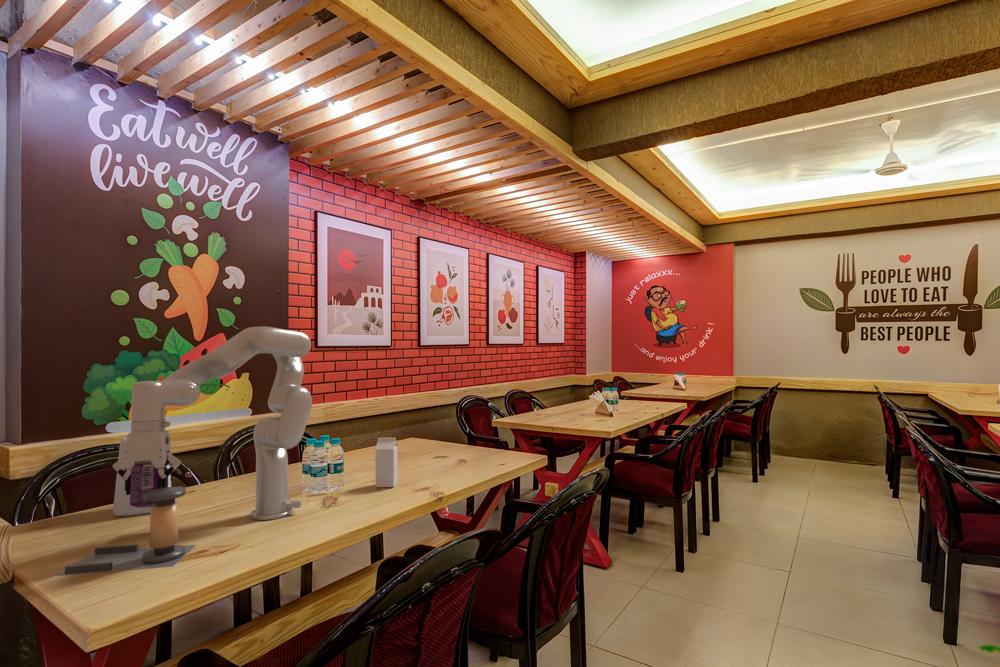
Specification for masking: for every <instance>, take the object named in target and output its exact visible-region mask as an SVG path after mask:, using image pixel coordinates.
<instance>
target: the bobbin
mask: <svg viewBox="0 0 1000 667" xmlns="http://www.w3.org/2000/svg"><path fill="white" fill-rule="evenodd" d="M186 489H187V488H186V487H184V486H171V487H166V488H159V489H155V490H151V491H148V492H146V493H144V494H143V500H144V501H154V504H152V505H151V506H150V518H149V548H154V549H152V550H149V551H147V552H145V553H144V554H143V555H142V562H143V563H146V564H158V563H164V562H168V561H172V560H175V559H177V558H179V557H181V556H183V555H184V554H185V547H184V545H181V544H178V543H179V513H180V512H179V510H180V509H179V507H180V504H179V501H178V500H176V499H177V498H181V497H183V496H185V495H186V493H187V490H186Z"/></svg>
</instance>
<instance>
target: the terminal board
mask: <svg viewBox="0 0 1000 667" xmlns="http://www.w3.org/2000/svg"><path fill="white" fill-rule="evenodd" d="M183 546H184V547H185V554H184V555H183V556H181V557H179V558H177V559H175V560H172V561H168V562H164V563H158V564H146V563H143V562H142V555H143V554H144V553H145V552H147V551H149V550H152V549H154V548H151V547H145V548H139V543H135V544H134V543H133V544H121V545H106V546H105V545H104V546H97V547H95V548H94V551H92V552H90V553H89V554H87V555H86V556H84V557H83V558H81V559H79V560H78V561H77V562H75V563H73V564H70V565H66V566H65V567H64V570H62V571H60V572H59V573H57V574H55V575H54V577H57V576H59V577H60V576H70V575H81V574H82V575H84V574H85V575H86V574H94V573H95V574H96V573H109V572H120V571H133V570H134V571H135V570H146V569H157V568H172V567H174V566H175V565H176V564H177V563H178V562H180V561H181V560H182V559H183V558H184V557H185V556H186V555H187V554H188V553H190V552H191V550H193V549H194V548H195V547H197V544H185V545H183Z"/></svg>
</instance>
